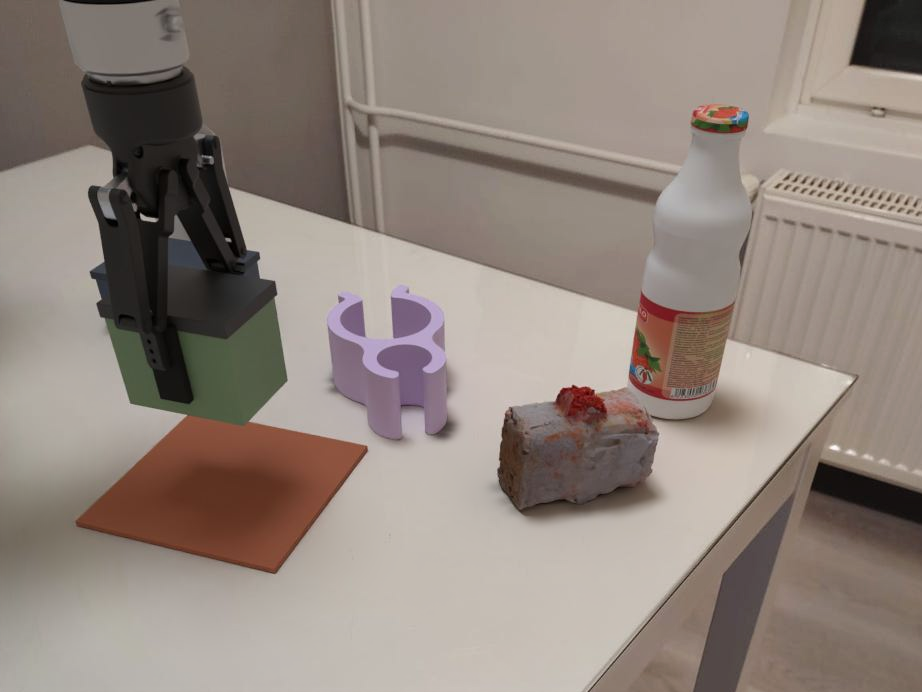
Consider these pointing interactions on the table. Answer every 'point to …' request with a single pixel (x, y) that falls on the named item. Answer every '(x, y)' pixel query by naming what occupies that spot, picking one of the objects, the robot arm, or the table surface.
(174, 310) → the box
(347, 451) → the mat
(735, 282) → the fruit juice
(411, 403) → the clip
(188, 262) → the lower tub
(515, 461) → the food item
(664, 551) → the table surface
